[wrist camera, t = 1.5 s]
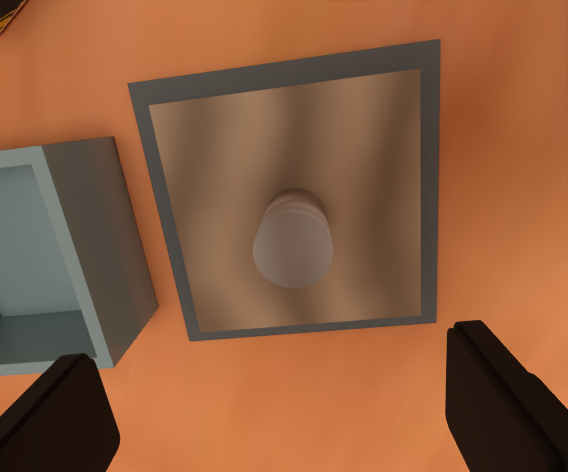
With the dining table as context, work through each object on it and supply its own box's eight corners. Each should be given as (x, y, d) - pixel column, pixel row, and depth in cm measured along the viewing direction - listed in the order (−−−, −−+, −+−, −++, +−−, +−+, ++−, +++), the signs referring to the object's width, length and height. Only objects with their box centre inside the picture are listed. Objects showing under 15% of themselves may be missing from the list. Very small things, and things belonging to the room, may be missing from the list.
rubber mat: (437, 40, 21) (440, 39, 21) (434, 319, 27) (436, 322, 27) (130, 83, 23) (127, 83, 22) (191, 338, 29) (189, 341, 28)
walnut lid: (414, 70, 21) (465, 51, 15) (415, 306, 26) (454, 373, 20) (156, 105, 23) (93, 102, 16) (204, 323, 28) (172, 391, 21)
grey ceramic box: (113, 136, 24) (40, 145, 17) (158, 307, 28) (114, 367, 21) (-64, 159, 25) (-196, 176, 18) (4, 320, 29) (-83, 381, 23)
